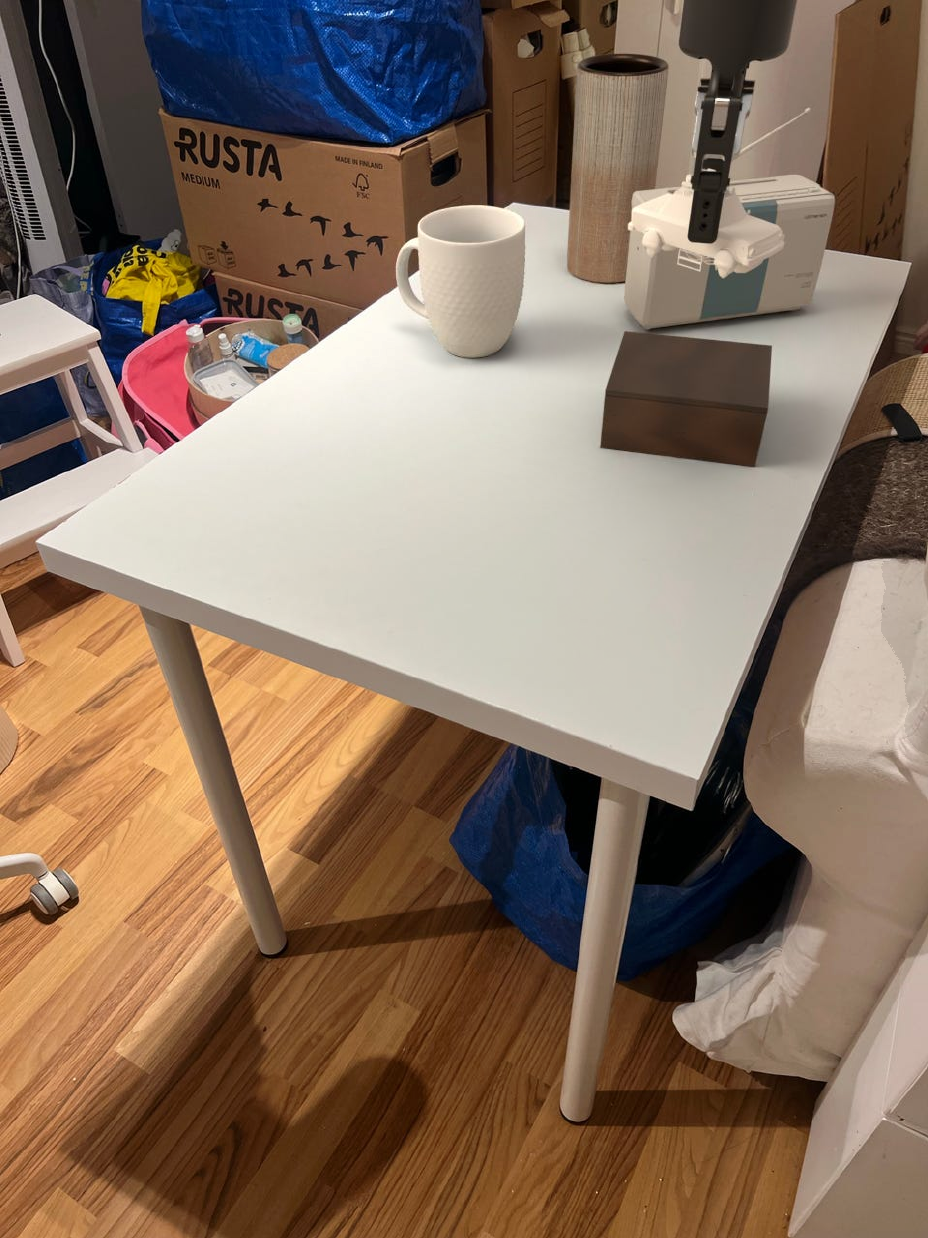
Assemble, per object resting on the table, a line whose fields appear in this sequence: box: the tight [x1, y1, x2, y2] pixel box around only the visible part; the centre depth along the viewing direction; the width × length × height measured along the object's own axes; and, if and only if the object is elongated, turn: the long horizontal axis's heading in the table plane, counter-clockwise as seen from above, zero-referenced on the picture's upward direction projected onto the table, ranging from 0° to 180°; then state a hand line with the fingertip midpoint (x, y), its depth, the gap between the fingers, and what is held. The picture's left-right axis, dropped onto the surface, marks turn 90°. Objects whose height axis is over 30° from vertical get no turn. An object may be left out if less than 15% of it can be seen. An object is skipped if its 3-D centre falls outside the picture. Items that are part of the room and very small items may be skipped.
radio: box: [623, 107, 836, 331], centre depth 99 cm, size 21×8×20 cm, turn 104°
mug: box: [395, 204, 526, 359], centre depth 97 cm, size 15×11×13 cm
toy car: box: [628, 169, 785, 278], centre depth 72 cm, size 6×12×7 cm, turn 45°
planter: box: [566, 53, 670, 284], centre depth 108 cm, size 10×10×23 cm
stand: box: [599, 330, 773, 468], centre depth 86 cm, size 14×12×6 cm
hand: (705, 223), depth 72 cm, fingers closed on toy car, 7 cm apart
